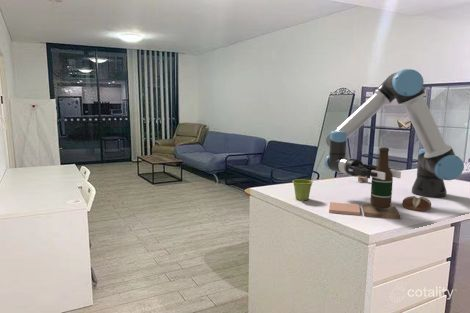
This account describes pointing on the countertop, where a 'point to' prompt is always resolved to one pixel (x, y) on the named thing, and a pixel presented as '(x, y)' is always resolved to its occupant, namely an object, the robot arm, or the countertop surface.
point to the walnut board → (380, 212)
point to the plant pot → (302, 188)
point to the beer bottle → (382, 182)
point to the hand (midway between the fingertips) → (392, 175)
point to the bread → (416, 203)
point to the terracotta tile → (344, 208)
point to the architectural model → (362, 178)
